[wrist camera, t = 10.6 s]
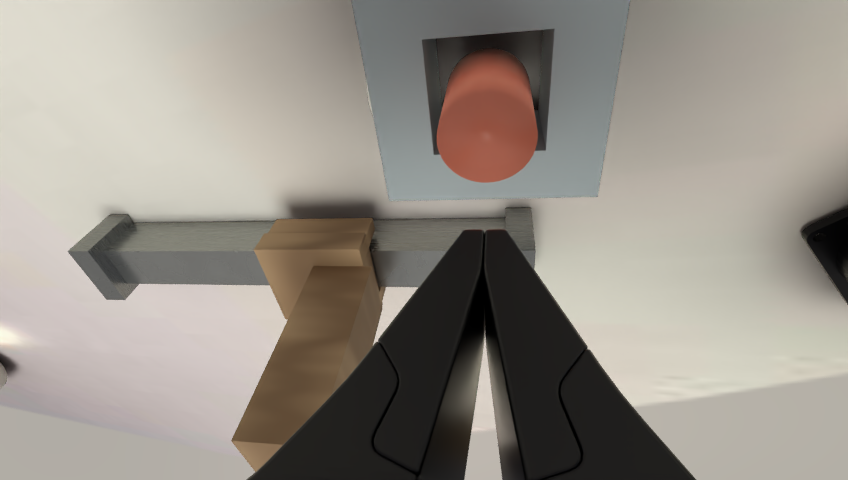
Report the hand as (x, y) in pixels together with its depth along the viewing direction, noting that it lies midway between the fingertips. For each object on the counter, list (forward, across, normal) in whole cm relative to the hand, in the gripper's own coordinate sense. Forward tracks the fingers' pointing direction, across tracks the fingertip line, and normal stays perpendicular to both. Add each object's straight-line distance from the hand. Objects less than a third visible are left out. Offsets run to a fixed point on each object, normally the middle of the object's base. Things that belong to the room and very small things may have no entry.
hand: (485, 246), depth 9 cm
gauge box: (+11, 0, 0) cm, 11 cm away
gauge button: (+8, 0, 0) cm, 8 cm away
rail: (+11, +10, +9) cm, 17 cm away
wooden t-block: (+10, +8, +9) cm, 15 cm away
